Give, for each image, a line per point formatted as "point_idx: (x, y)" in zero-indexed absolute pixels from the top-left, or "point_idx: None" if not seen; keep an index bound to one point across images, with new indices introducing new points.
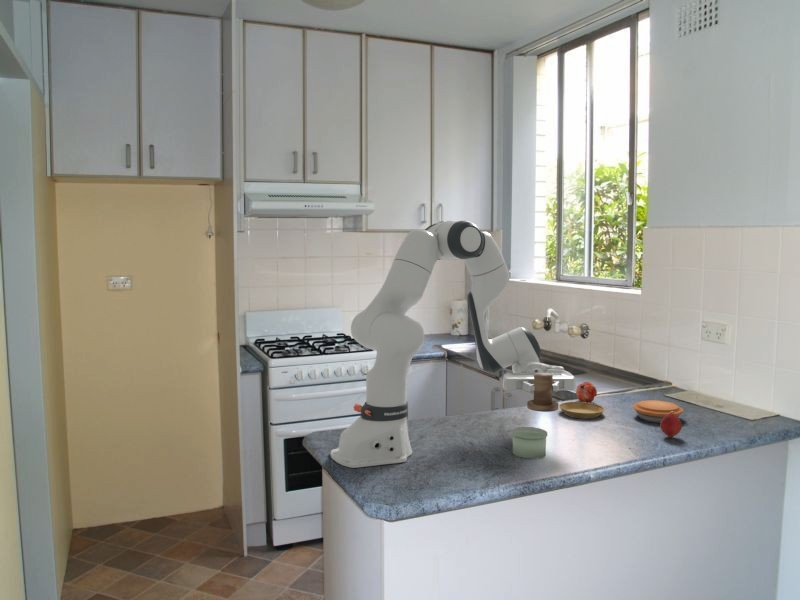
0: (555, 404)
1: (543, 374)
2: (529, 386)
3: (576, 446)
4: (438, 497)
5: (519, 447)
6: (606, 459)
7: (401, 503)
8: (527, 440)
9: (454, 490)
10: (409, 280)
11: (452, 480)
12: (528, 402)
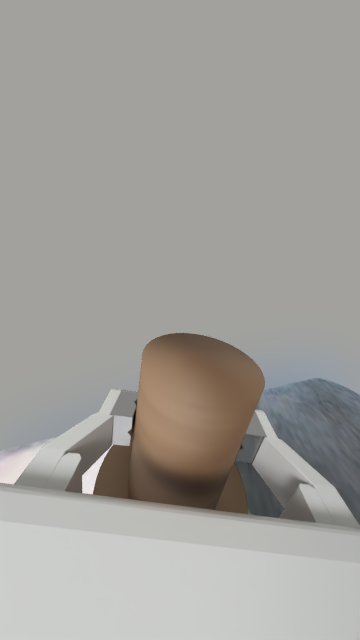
0: (125, 446)
1: (200, 362)
2: (261, 414)
3: None
4: (290, 383)
5: None
6: (9, 481)
7: (313, 379)
8: None
9: (283, 393)
10: None
11: (300, 416)
12: (241, 507)
